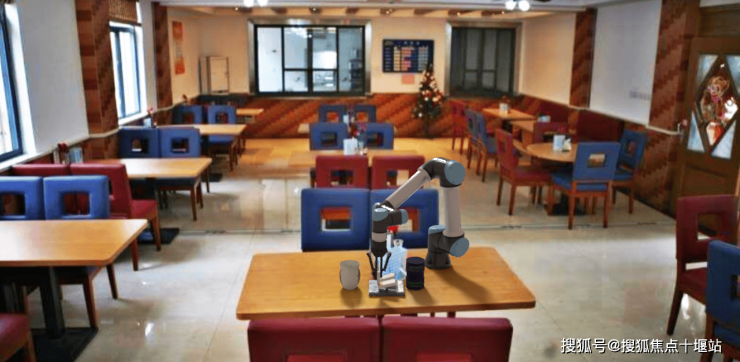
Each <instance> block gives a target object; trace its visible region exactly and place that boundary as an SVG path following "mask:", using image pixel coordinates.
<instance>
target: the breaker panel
mask: <svg viewBox="0 0 740 362" xmlns="http://www.w3.org/2000/svg"><path fill="white" fill-rule="evenodd" d="M395 282H396V285H394V286H390V287H386V288H381V289H378V284H377V279H369V280H368V297H405V295H406V294H405V284H404V280H403V279H402V280H401V279H400V280H399V279H395Z"/></svg>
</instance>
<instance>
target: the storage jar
mask: <svg viewBox="0 0 740 362" xmlns="http://www.w3.org/2000/svg"><path fill="white" fill-rule="evenodd" d="M425 267H426V266H425V258H424V257H421V256H409V257H407V258H406V259H405V271H406V272H405V273H406V276H405V288H406V289H407V290H409V291H413V290H414V291H417V292H418V291H422V290H424V289H425V281H426V280H425V270H426V268H425Z"/></svg>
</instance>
